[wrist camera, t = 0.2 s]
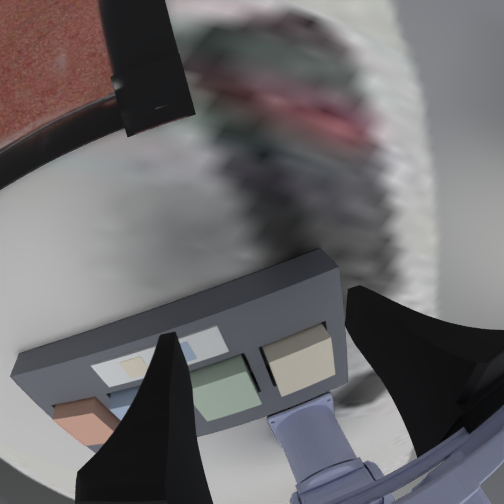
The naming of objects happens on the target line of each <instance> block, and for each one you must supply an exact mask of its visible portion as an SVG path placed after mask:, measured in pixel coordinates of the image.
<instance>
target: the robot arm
mask: <svg viewBox="0 0 504 504" xmlns="http://www.w3.org/2000/svg"><path fill="white" fill-rule="evenodd" d="M345 327H346V329H347V331H348V333H349V334H350V336H351V338H352V340H353V342H354V343H355V345H356V346H357V348H358V349H359V350H360V352H361V353H362V354H363V356H364V357H365V359H366V360H367V361H368V363H369V364H370V365H371V367H372V368H373V369H374V371H375V372H376V373H377V375H378V376H379V377H380V379H381V380H382V382H383V383H384V385H385V386H386V388H387V390H388V392H389V393H390V395H391V397H392V399H393V401H394V403H395V405H396V407H397V409H398V411H399V413H400V415H401V417H402V419H403V421H404V423H405V426H406V428H407V430H408V433H409V435H410V438H411V440H412V443H413V446H414V449H415V451H416V455H417V459H415V460H413V461H411V462H410V463H408V464H406V465H404V466H403V467H401V468H399V469H397V470H395V471H393V472H392V473H390V474H388V475H386V476H384V475H383V473H382V471H381V470H380V468H379V467H378V466H377V465H376V464H375V463H374V462H370V461H365V462H362V460H361V458H360V457H359V458H357V457H356V455H355V453H354V451H353V450H352V448H351V446H350V444H349V442H348V440H347V438H346V437H345V435H344V433H343V431H342V429H341V427H340V426H339V424H338V422H337V420H336V418H335V415H334V405H333V396H332V394H331V393H327V394H325V395H323V396H321V397H318V398H316V399H314V400H311V401H309V402H306V403H304V404H302V405H299V406H297V407H294V408H291V409H289V410H286V411H284V412H281V413H278V414H276V415H273V416H270V417H268V419H267V421H268V423H269V425H270V427H271V429H272V431H273V432H274V434H275V436H276V438H277V440H278V442H279V444H280V446H281V447H282V448H283V449H284V452H285V454H286V457H287V459H288V462H289V464H290V467H291V470H292V472H293V475H294V477H295V480H296V482H297V485H295V486H296V489H297V491H298V492H294V493H293V494H292V497H291V498H290V504H491V503H490V501H489V500H488V498H487V497H486V495H485V494H484V492H483V491H482V489H481V488H480V484H481V483H482V482H483V481H485V480H486V479H487V478H488V477H489V476H490V475H491V474H492V473H493V472H494V471H495V470H496V469H497V468H498V467H499V466H500V465H501V464H502V463H503V462H504V330H489V329H480V328H472V327H467V326H462V325H457V324H453V323H449V322H445V321H442V320H439V319H436V318H433V317H430V316H427V315H424V314H422V313H419V312H417V311H414V310H412V309H410V308H407V307H405V306H403V305H401V304H399V303H396V302H394V301H392V300H390V299H388V298H386V297H384V296H382V295H380V294H378V293H376V292H374V291H372V290H370V289H368V288H365V287H363V286H360V285H359V286H356V287H353V288H349V289H348V295H347V307H346V317H345ZM444 460H445V461H444ZM443 461H444V462H443ZM442 462H443V463H442ZM440 463H441V464H440ZM438 464H440V465H439V466H438V467H436V468H435V469H434V470H432V471H431V472H430V473H429V474H428V475H427V477H426V478H425V479H424V480H423V481H421V482H420V483H419V484H418V485H417V486H415V487H414V488H413V489H412V492H410V493H408V494H406V495H405V496H403V497H401V498H399V499H398V500H396V501H395V500H394V498H393V496H392V492H394V491H396V490H398V489H399V488H401V487H403V486H405V485H406V484H408V483H410V482H412V481H413V480H415V479H416V478H418V477H420V476H422V475H423V474H425V473H426V472H428V471H429V470H431V469H433V468H434V467H435V466H437V465H438ZM75 504H213V501H212V498H211V494H210V491H209V488H208V484H207V480H206V477H205V473H204V469H203V465H202V461H201V456H200V452H199V447H198V442H197V435H196V425H195V413H194V401H193V388H192V383H191V378H190V372H189V367H188V364H187V362H186V359H185V356H184V353H183V351H182V348H181V345H180V342H179V340H178V337H177V334H176V332H171V333H166V334H161V335H160V336H159V338H158V341H157V345H156V348H155V351H154V354H153V356H152V359H151V362H150V364H149V367H148V369H147V372H146V374H145V377H144V379H143V381H142V383H141V385H140V387H139V390H138V392H137V394H136V396H135V398H134V400H133V402H132V403H131V405H130V407H129V409H128V410H127V412H126V414H125V415H124V417H123V418H122V420H121V421H120V423H119V425H118V426H117V428H116V429H115V430H114V432H113V433H112V435H111V436H110V437H109V438H108V440H107V441H106V442H105V443H104V444H103V446H102V447H101V448H100V449H99V451H98V452H97V453H96V454H95V455H94V456H93V457H92V458H91V459H90V460H89V461H88V462H87V463H86V464H85V465H84V466H83V467H82V468H81V469H80V470H79V471H78V472H77V478H76V490H75Z"/></svg>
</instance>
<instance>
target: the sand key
mask: <svg viewBox="0 0 504 504" xmlns="http://www.w3.org/2000/svg"><path fill="white" fill-rule="evenodd" d="M262 347H263V350H264V353H265V355H266V358H267V361H268V364H269V366H270V369H271V372H272V374H273V377H274V380H275V382H276V384H277V387H278V389H279V392H280V394H281V396H282V397H283V396H285V395H288V394H291V393H293V392H296V391H298V390H301V389H303V388H305V387H308V386H310V385H313V384H315V383H317V382H320V381H322V380H324V379H326V378H329V377H331V376H333V375H335V367H334V357H333V349H332V340H331V336H330V335H329V333H328V332H327V330H326V329H325V327H324V326H323V325H322V323H319V324H317V325H314V326H312V327H309V328H307V329H305V330H302V331H300V332H297V333H295V334H292V335H290V336H287V337H285V338H282V339H280V340H277V341H274V342H272V343H269V344H267V345H264V346H262Z"/></svg>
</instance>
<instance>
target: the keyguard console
mask: <svg viewBox="0 0 504 504" xmlns="http://www.w3.org/2000/svg"><path fill="white" fill-rule="evenodd" d="M319 323H322V325H323V326H324V327H325V329H326V330H327V332H328V333H329V335H330V336H331V340H332V349H333V357H334V367H335V375H333V376H331V377H329V378H326V379H324V380H322V381H320V382H317V383H315V384H313V385H310V386H308V387H305V388H303V389H301V390H298V391H296V392H293V393H291V394H288V395H285V396H283V397H282V396H281V394H280V392H279V389H278V387H277V384H276V382H275V380H274V377H273V374H272V372H271V369H270V366H269V364H268V361H267V358H266V355H265V353H264V350H263V347H262V346H264V345H267V344H269V343H272V342H274V341H277V340H280V339H282V338H285V337H287V336H290V335H292V334H295V333H297V332H300V331H302V330H305V329H307V328H309V327H312V326H314V325H317V324H319ZM171 332H176V334H177V337H178V340H179V342H180V345H181V348H182V351H183V353H184V356H185V359H186V362H187V364H188V367H189V371H191V370H194V369H198V368H201V367H204V366H207V365H210V364H213V363H216V362H219V361H222V360H225V359H228V358H231V357H234V356H236V355H239V354H241V355H242V357H243V359H244V361H245V364H246V366H247V368H248V370H249V372H250V375H251V377H252V379H253V381H254V383H255V385H256V388H257V391H258V394H259V397H260V400H261V402H262V404H261V405H258V406H255V407H252V408H250V409H247V410H244V411H241V412H237V413H234V414H231V415H228V416H225V417H221V418H218V419H215V420H211V421H208V422H207V420H206V419H205V418H204V417H203V416H202V414H201V413H200V412H199V411H198V409H197V408H196V407H195V405H194V413H195V425H196V435H197V437H199V436H203V435H207V434H211V433H214V432H218V431H221V430H225V429H228V428H231V427H235V426H238V425H241V424H244V423H247V422H250V421H253V420H256V419H259V418H262V417H265V416H268V415H271V414H273V413H276V412H279V411H281V410H284V409H287V408H289V407H292V406H294V405H297V404H299V403H302V402H304V401H307V400H309V399H312V398H314V397H316V396H319V395H321V394H323V393H325V392H328V391H330V390H332V389H334V388H337V387H339V386H341V385H343V384H345V383H347V382H348V364H347V347H346V333H345V321H344V309H343V299H342V289H341V280H340V271H339V266H338V265H337V264H336V263H335V262H334V261H333V260H332V259H331V258H330V257H329V256H328V255H327V254H326V253H325V252H324V251H323V250H322V249H321V248H320V249H317V250H314V251H312V252H309V253H307V254H304V255H301V256H299V257H296V258H293V259H291V260H288V261H285V262H283V263H280V264H277V265H275V266H272V267H269V268H266V269H264V270H261V271H258V272H256V273H253V274H250V275H247V276H245V277H242V278H239V279H236V280H234V281H231V282H228V283H225V284H223V285H220V286H217V287H214V288H212V289H209V290H206V291H203V292H200V293H198V294H195V295H192V296H189V297H186V298H184V299H181V300H178V301H175V302H172V303H169V304H166V305H164V306H161V307H158V308H155V309H152V310H149V311H146V312H143V313H141V314H138V315H135V316H132V317H129V318H126V319H123V320H120V321H117V322H114V323H111V324H108V325H105V326H102V327H99V328H96V329H93V330H90V331H87V332H84V333H81V334H78V335H75V336H72V337H69V338H66V339H63V340H60V341H57V342H54V343H51V344H48V345H45V346H41V347H38V348H35V349H32V350H29V351H26V352H23V353H19V355H18V358H17V360H16V363H15V365H14V368H13V370H12V373H11V375H10V377H11V378H12V379H13V380H14V381H15V383H16V384H17V385H18V386H19V387H20V388H21V389H22V390H23V391H24V392H25V393H26V394H27V395H28V396H29V397H30V398H31V399H32V400H33V401H34V402H35V403H36V404H37V405H38V406H39V407H40V408H41V409H43V410H44V411H45V412H46V413H47V414H48V415H49V416H50V417H51V418H52V419H53V415H54V410H55V405H56V404H60V403H66V402H71V401H76V400H81V399H85V398H90V397H94V396H96V398H97V399H98V400H99V401H100V402H101V403H102V404H103V405H104V406H105V407H106V408H107V409H110V397H111V393H112V392H116V391H120V390H124V389H128V388H132V387H136V386H139V385H141V383H142V381H143V379H144V377H145V374H146V372H147V369H148V367H149V364H150V362H151V359H152V356H153V354H154V351H155V348H156V345H157V341H158V338H159V336H160V335H161V334H166V333H171ZM115 416H116V415H115ZM116 417H117V416H116ZM117 418H118V417H117ZM118 419H119V418H118ZM119 420H120V419H119ZM120 421H121V420H120ZM102 446H103V444H97V445H88V446H87V447H88V448H89V449H91V450H92V451H94V452H95V453H97V452H98V451H99V449H100V448H101V447H102Z"/></svg>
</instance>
